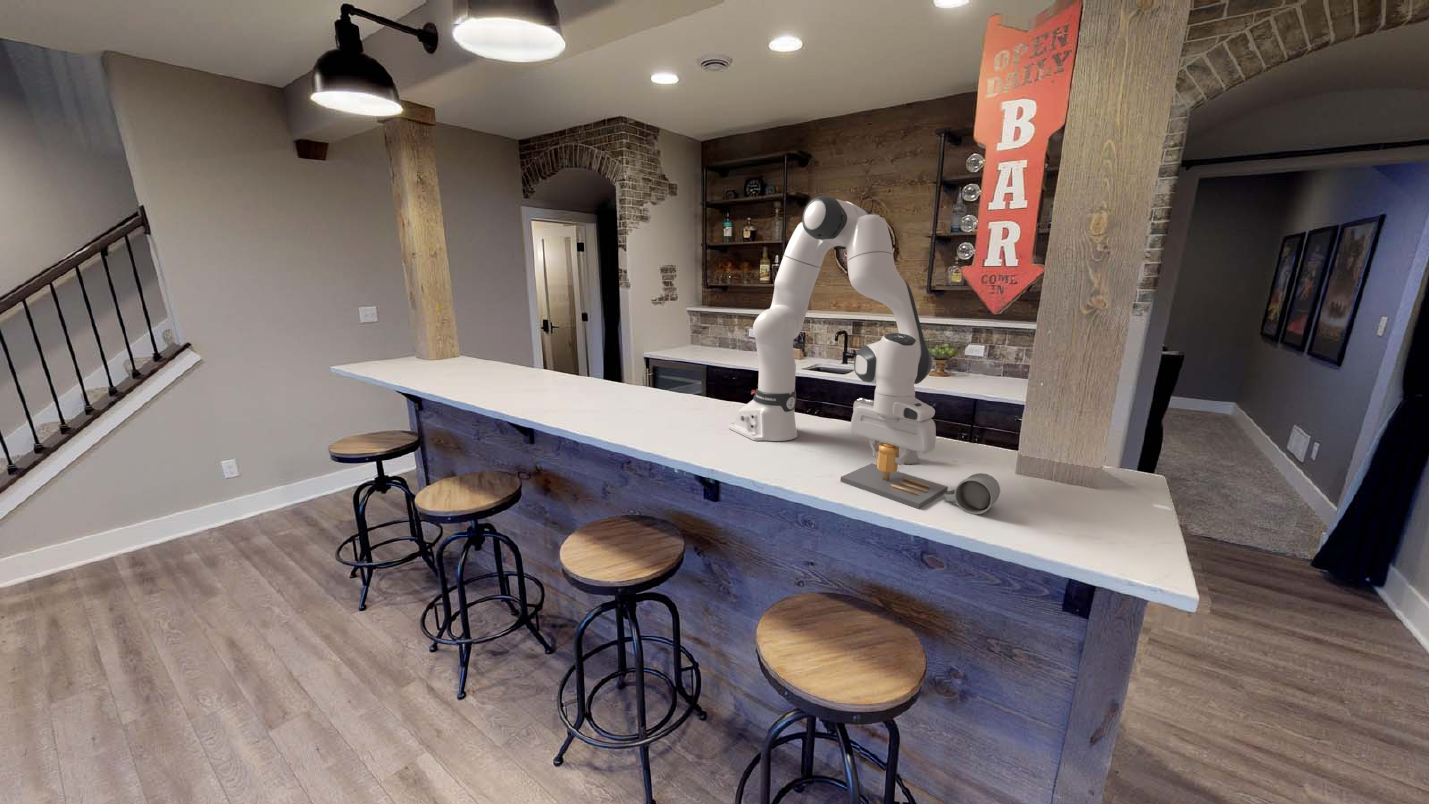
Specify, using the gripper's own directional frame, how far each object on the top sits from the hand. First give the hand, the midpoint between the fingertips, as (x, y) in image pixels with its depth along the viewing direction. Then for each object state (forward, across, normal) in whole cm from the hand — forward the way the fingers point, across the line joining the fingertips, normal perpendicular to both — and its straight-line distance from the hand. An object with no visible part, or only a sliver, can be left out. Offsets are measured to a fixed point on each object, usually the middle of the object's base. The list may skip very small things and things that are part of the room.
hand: (887, 460), depth 127 cm
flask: (+6, -5, +19) cm, 21 cm away
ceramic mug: (+6, +19, +3) cm, 20 cm away
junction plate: (+6, +2, 0) cm, 6 cm away
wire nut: (+2, 0, 0) cm, 2 cm away
